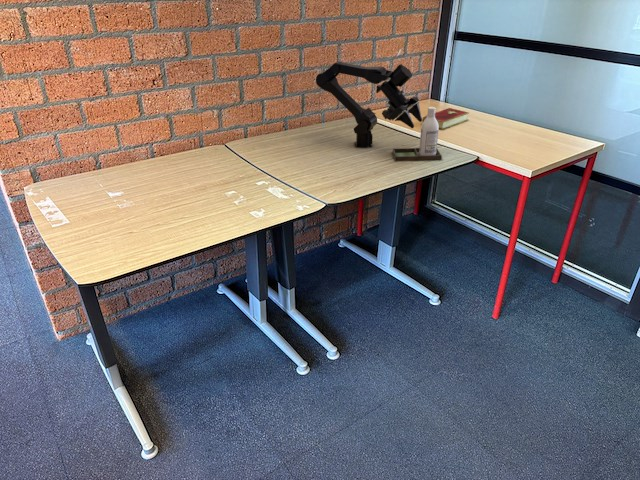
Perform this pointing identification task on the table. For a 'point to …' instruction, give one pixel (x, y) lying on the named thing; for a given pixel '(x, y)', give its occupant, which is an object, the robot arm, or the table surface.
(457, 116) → the hardcover book
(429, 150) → the bath foam
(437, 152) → the tray
